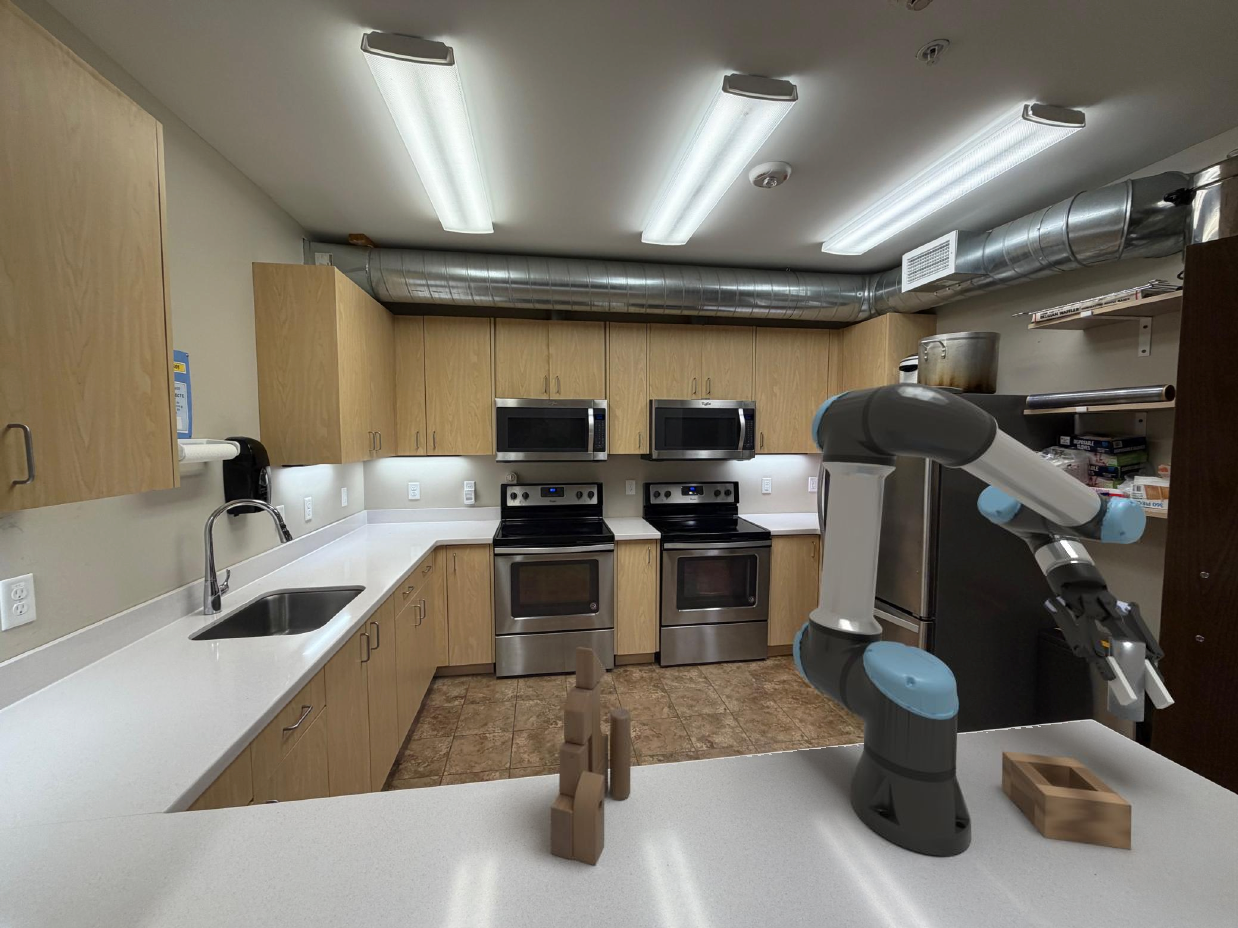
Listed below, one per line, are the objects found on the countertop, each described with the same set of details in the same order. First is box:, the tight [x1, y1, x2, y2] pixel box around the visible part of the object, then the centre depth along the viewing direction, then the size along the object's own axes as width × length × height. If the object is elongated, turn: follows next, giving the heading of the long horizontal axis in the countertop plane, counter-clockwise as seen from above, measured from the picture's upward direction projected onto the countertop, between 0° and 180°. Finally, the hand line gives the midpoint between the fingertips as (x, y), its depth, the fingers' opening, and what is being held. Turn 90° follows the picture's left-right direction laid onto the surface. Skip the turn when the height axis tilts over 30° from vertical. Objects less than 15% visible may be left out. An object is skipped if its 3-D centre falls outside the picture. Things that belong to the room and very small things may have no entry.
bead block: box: [1001, 751, 1133, 850], centre depth 70 cm, size 10×10×6 cm
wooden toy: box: [550, 646, 632, 866], centre depth 69 cm, size 15×7×25 cm, turn 161°
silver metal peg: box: [1106, 635, 1146, 723], centre depth 76 cm, size 4×4×12 cm
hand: (1146, 703), depth 73 cm, fingers closed on silver metal peg, 4 cm apart
